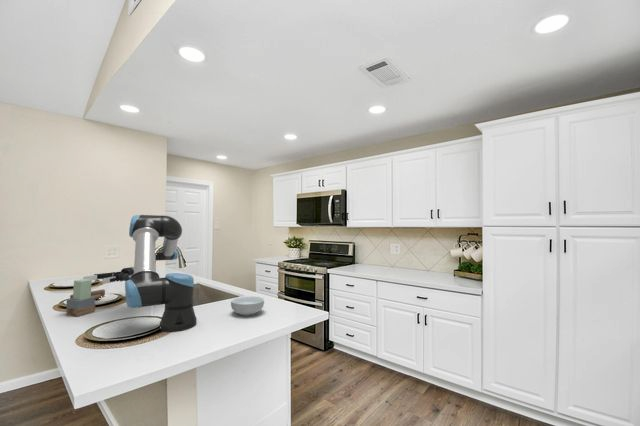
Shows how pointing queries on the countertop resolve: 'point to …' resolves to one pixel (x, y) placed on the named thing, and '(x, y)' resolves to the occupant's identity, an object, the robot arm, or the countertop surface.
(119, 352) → the countertop surface
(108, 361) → the countertop surface
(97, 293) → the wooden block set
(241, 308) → the cereal bowl
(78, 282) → the green pillar
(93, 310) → the tower base
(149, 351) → the countertop surface
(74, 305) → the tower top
